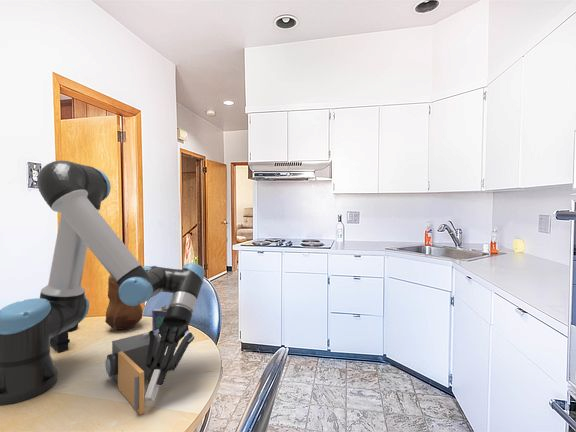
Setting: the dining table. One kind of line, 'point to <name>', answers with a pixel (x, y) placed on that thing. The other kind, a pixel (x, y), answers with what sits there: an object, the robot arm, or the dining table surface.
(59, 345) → the black upright slab
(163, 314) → the flask
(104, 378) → the dining table surface
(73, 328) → the tape measure
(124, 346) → the block
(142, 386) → the side door
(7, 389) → the robot arm
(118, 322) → the butternut squash
